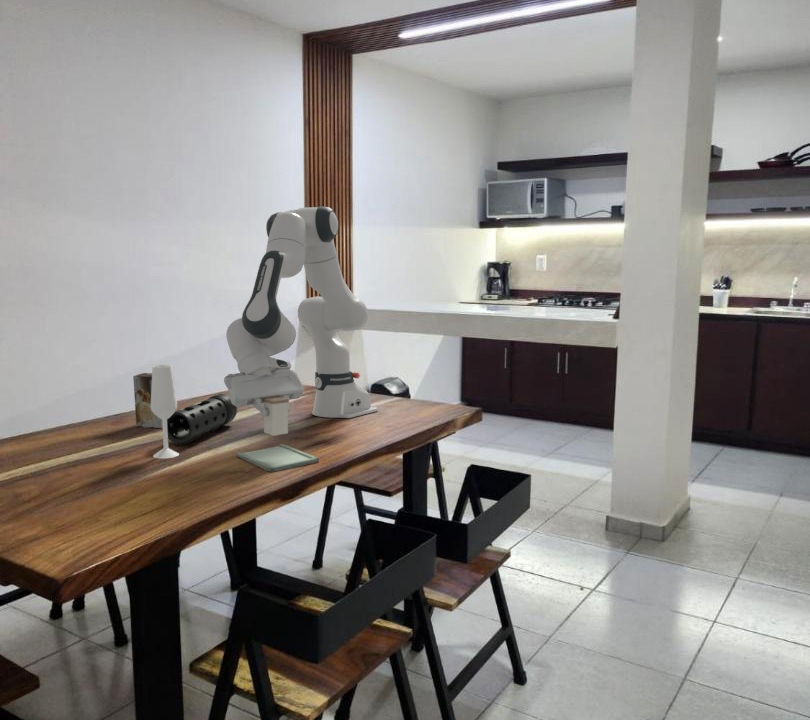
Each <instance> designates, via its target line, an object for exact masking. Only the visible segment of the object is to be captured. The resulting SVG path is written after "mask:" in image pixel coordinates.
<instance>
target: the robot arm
mask: <svg viewBox="0 0 810 720" xmlns="http://www.w3.org/2000/svg"><path fill="white" fill-rule="evenodd" d="M338 233H339V220H338V216H337V214H336V212H335V211H334V210H333V209H332V208H331V207H329V206H321V205H319V206H318V207H312V206H311V207H299V208H297V209H295V208H294V209H290V210H286V211H277V212H275V213H273V214H271V215H270V216H269V218H268V219H267V221H266V234H267V237H268V238H267V244H266V250H265V253H264V255H263V256H262V259H261V260H260V264H259V266H258V271H257V274H256V278H255V282H254V286H253V289H252V293H251V296H250V298H249V300H248V302H247V303H246V306H245V307H244V309H243V310H242V311H243V312H242V315H241V317H240V318H237V319H235V320H234V321H232V322H231V323H230V324H229V325H228V327H227V329H226V334H225V335H226V336H225V337H226V341H227V344H228V347H229V351H230V353H231V355H232V357H233V359H234V360H235V361H236V363H237V369H238V371H239V372H238V373H228V374H227V376H224V379H223V383H224V385H225V387H226V388H227V390H228V395H229V396H230V400H231V402H232V404H233V405H234V406H236V407H238V408H239V407H244V406H253V407H254V409H256V410H257V411H258V412H260V413H261V416H262V417H263V418H264V417H265V416H269V414H270V411H269V408H268V407H266V408H265V407H264V402H263V398H270V397H278V396H280V397H283V398H286V399H288V414H289V413H290V412H291V408H290V405H289V403H290V400H298V399H300V398H301V396H302V394H303V393H304V390H305V388H304V384H303V383H302V381H301V379H300V377H299V376H298V373H296V372H295V370H293V369H292V364H291V362H290V361H289V360H284V359H279V358H276V357H272V356H275V355H277V354H280V353H282V352H284V351H286V350H288V349H289V348H291V346H292V345H293V344H294V342H295V341H296V336H297V332H296V328H295V326H294V325H293V324H292V322H291V321H290V319H289V318H288V317H286V315H285V314H284V313H283V312H282V311H281V309H280V307H279V305H278V302H277V297H278V296H277V295H278V291H279V287H280V284H281V279H287V278H288V279H289V278H292V277H295V276H296V275H298V274H299V273H300V272H301V271H302V270H303V268H304V270H305V271H304V272H305V276H306V280H307V283H308V285H309V286H310V287H311V288H312V289H313V290H315V291H316V292H317V293H318V294H319V295H320V296H318V295H317V296H312V297H308V298H304V299H302V301H300V304H299V305H298V309H297V317H298V320H299V322H300V324H301V325H302V326H303V327H304V328H305V329H306V330H307V332H308V333H309V334H310V337H311V340H312V342H313V345H314V350H315V362H316V363H315V366H316V370H315V372H314V373H315V374H314V384H315V385H314V386H315V398H314V403H313V407H312V408H313V409H312V412H311V414H312V415H314V416H315V417H322V418H332V419H333V418H341V419H351V418H354V417H359V416H362V415H366V414H371V413H374V412H378V410H379V409H378V407H377V406H375V405H373V404H372V402H371V401H372V400H371V396H370V394H369V392H368V391H367V390H366V389H365V388H364V387H362V386H360V385H359V384H358V383H357V382H355V379H360V377H361V374H360V372H356V371H354V372H353V371H351V368H350V363H351V361H350V360H351V359H350V349H349V347H348V345H347V344H346V343H344V342H343V340H342V339H340V337H339V336H340V335H338V332H354V331H359V330H361V329H363V328H364V327H365V326H366V324H367V322H368V317H369V312H368V308H367V305H366V304H365V303H364V301H362V300H361V299H359V298H358V297H357V296H356V295H355V294H354V293H353V292H352V291H351V290H350V288H349V286H348V285H347V283H346V281H345V278H344V276H343V274H342V270H341V266H340V262H339V258H338V257H339V256H338V253H337V249H336V246H335V245H336V244H335V241H334V240H335V239H336V237H337V235H338Z"/></svg>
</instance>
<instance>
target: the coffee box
mask: <svg viewBox="0 0 810 720" xmlns="http://www.w3.org/2000/svg"><path fill="white" fill-rule="evenodd" d="M151 388H152V372H143V373H139V374H136V375H133V393H134V408H135V409H134V411H135V422H136V423H135V426H136V427H137V426H143V427H142V428H151V427H154V429H156V428H157V429H163V425H162V419H160V418H158V417H157V416H156V415H155V414H154V413H153V412H152V410H151Z"/></svg>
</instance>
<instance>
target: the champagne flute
mask: <svg viewBox="0 0 810 720" xmlns="http://www.w3.org/2000/svg"><path fill="white" fill-rule="evenodd" d="M151 368H152V371H151V373H152V388H151V410H152V412H153V413H154V414H155V415H156V416H157V417H158V418H160V419H162V425H163V428H162V443H163V448H162V449H160V450H159V451H157V452H156V453H154V454H153V455H152V457H153V458H155V459H164V460H165V459H172V458H175V457H178V456H179V455H180V453H179V452H177V451H176V450H173V449H172V448H170V447H169V439H168V432H167V419H168V418H170V417H171V416H172V415H173V414H174V412H175V411H177V409H178V402H177V393H176V387H175V381H174V373H173V366H172V364H156V365H153V366H152V367H151Z"/></svg>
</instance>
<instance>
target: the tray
mask: <svg viewBox="0 0 810 720" xmlns="http://www.w3.org/2000/svg"><path fill="white" fill-rule="evenodd" d="M237 456H238V457H237ZM236 457H237V458H239V457H240V459H241V458H242V460H244V461H245V462H247V463H250V464H252V465H254V466H257V467H259V468H261V469H263V470H265V471H267V472H269V473H273V472H274V473H275V472H279V471H282V470H287V469H293V468H297V467H302V466H306V465H311V463H312V464H315V463H314V462H316V463H319V461H320V458H319V457H316V456H314V455H312V454H309V453H307V452H304V451H302V450H299V449H297V448H294V447H291V446H289V445H287V444H285V443H282V444H279V445H278V446H273V447H267V448H262V449H257V450H252V451H247V452H242V451H239V452H236Z"/></svg>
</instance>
